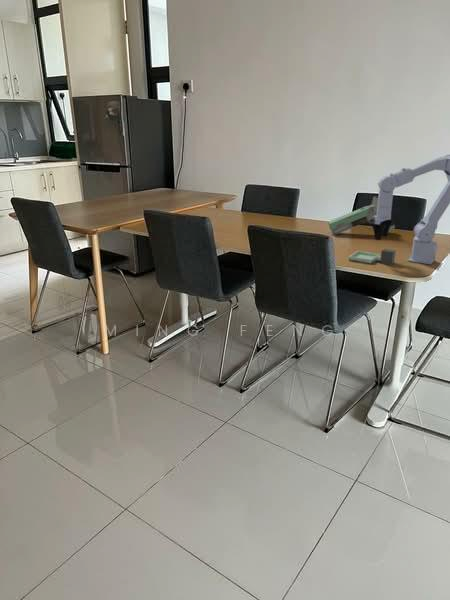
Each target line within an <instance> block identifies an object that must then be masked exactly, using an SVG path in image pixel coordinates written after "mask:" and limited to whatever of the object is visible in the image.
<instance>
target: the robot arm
mask: <svg viewBox="0 0 450 600" xmlns="http://www.w3.org/2000/svg"><path fill="white" fill-rule="evenodd" d="M435 170H436V171H443V172H444V174H445V175H446V176H445V177H446V179H447V182H446V184H445V186H444V187H443V189H442V190H441V192H440V193H439V195H438V196H437V198H436V200H435V201H434V203H433V204H432V206H431V207H430V209H429V211H428V213H427V214H426V216H424V217H423V218H421V220H420V222H418V223H417V224H416V225H415V226H414V227H413V234H414V235H415V236H414V237H413V241H412V249H411V255H410V258H408V259H407V261H408V262H413V263H418V264H425V265H432V264H433V263H434V262H435V261H436V257H437V255H436V253H437V249H438V248H437V247H438V242H435V241H433V239H434V237H435V233H436V230H437V228H438V224H439V221H440V219H441V218H442V216H443V215H444V213H445V211H446V210H447V208H448V207H449V206H450V154H446V155H444V156H439V157H436V158H434V159H432V160H430V161H428V162H426V163H424V164H421V165H419V166H417V167H415V168H413V169H411V168H409V167H407V168H405V167H402V168H401V169H400V170H399V171H397V172H395V173H390V174H389V176H388V175H387V176H383V177H381V178H380V179H379V181H378V183H377V184H378V188H379V190H378V197H377V198H378V205H377V214H376V215H375V216H373V218H376V219H375V222H373V223H371V227H372V229H373V234H374V240H376V241H381V240H382V237H385V238H386V237H387V236H388V233H389V232H390V231H389V228H390V226H391V224H392V223H394V219H392V207H393V200H394V199H393V197H394V191H395V189H396V188H399V187H402V186H404V185H407V184H409V183H412V182H413V181H414V179H415V178H416V177H419V176H421V175H424V174H427V173H429V172H433V171H435ZM388 231H389V232H388Z"/></svg>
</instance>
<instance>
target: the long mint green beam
mask: <svg viewBox="0 0 450 600" xmlns="http://www.w3.org/2000/svg"><path fill="white" fill-rule="evenodd" d="M377 205H378V197H377V196H373V198H372V201H371V204H370V205H367V206H366V205H365V206H363V207H361V208H358V209H356V210H354V211H351V212H348V213H345V214H342V215H341V216H339V217H336V218H334V219H331V220H329V221H327V224H328V227H329V229H330V233H331V234H332V235H333V236H336V235H338V234H340V233H343V232H345V231H349V230H350V229H353V228H354V227H356V226H357V227H358V226H359V225H361V224H365V223H367V222H368V223H369V224H372V223H373V222H374V223H375V219H376V218H373V216H375V215H376V214H377ZM395 228H396V227H395V223H394V222H393V223H392V224H391V226H390V228H389V231H388V233H389V232H391V231H392V230H394V229H395Z"/></svg>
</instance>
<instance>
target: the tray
mask: <svg viewBox="0 0 450 600" xmlns="http://www.w3.org/2000/svg"><path fill="white" fill-rule="evenodd" d="M378 256H381V253H375V252H369V251H362V250H356V251H355V252H354V253H352V254H350V255H348V261H350V262H355V263H363V264H368V265H372V264H373V263H375V262H376V261H378V260H377V257H378Z"/></svg>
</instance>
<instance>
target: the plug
mask: <svg viewBox="0 0 450 600" xmlns="http://www.w3.org/2000/svg"><path fill="white" fill-rule="evenodd" d="M396 252H397V251H396V250H395V249H386V248H383V249H382V250H381V253H380V256H378V257H377V260H376V261H379V263H380V264H384V265H390V266H391V265H393V264H395V259H396Z"/></svg>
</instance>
